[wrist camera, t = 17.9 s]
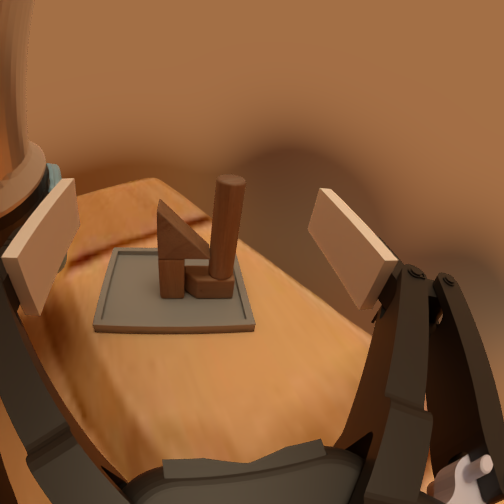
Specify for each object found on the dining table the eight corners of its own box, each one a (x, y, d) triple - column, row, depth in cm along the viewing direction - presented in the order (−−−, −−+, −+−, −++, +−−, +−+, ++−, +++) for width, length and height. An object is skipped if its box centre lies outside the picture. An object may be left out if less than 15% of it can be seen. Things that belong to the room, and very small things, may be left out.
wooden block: (161, 283, 43) (159, 170, 33) (229, 283, 46) (245, 174, 36) (160, 299, 40) (156, 181, 30) (232, 299, 43) (250, 185, 33)
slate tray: (95, 331, 33) (92, 324, 33) (114, 254, 48) (113, 247, 47) (253, 331, 39) (255, 324, 38) (233, 255, 53) (234, 248, 52)
